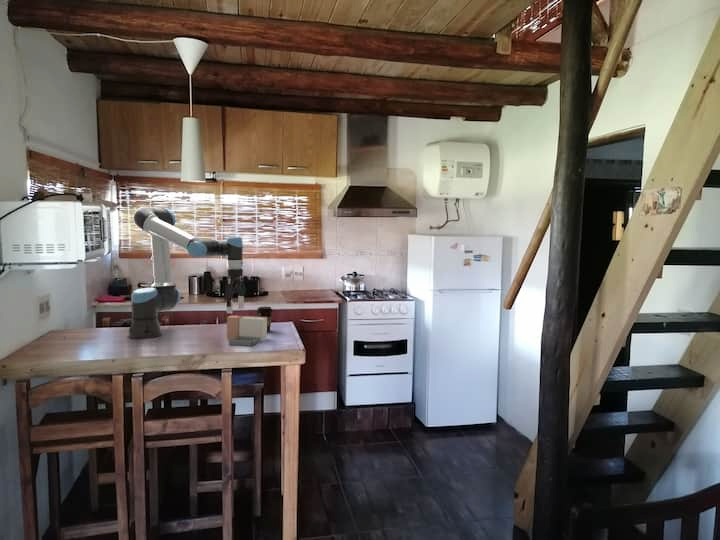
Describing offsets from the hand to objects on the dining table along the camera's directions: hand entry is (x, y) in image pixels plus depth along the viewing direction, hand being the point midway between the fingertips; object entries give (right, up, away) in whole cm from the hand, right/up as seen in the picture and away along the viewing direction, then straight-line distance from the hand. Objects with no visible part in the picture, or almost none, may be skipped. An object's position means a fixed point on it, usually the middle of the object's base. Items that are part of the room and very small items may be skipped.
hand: (235, 311), depth 238 cm
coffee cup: (+11, -13, +18) cm, 25 cm away
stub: (-1, -14, +1) cm, 14 cm away
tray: (+7, -15, -8) cm, 18 cm away
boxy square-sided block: (+9, -14, 0) cm, 17 cm away
